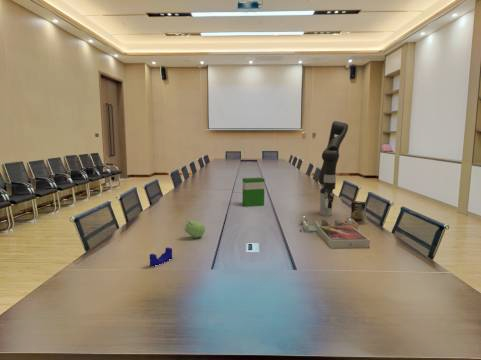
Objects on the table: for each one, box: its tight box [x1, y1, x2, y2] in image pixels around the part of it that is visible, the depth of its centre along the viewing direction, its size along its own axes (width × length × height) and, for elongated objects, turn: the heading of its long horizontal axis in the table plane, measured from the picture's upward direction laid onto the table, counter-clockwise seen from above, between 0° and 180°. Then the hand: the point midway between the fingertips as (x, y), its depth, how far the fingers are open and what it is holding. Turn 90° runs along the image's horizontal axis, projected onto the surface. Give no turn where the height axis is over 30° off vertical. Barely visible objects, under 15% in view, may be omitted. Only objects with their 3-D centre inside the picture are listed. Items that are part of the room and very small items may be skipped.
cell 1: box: [299, 214, 308, 226], centre depth 232 cm, size 5×5×7 cm
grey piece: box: [302, 219, 362, 233], centre depth 219 cm, size 11×36×6 cm, turn 89°
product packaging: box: [316, 225, 371, 249], centre depth 199 cm, size 22×28×5 cm
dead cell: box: [345, 217, 354, 224], centre depth 219 cm, size 5×5×7 cm
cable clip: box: [149, 247, 173, 268], centre depth 164 cm, size 12×4×6 cm, turn 147°
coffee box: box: [350, 200, 367, 225], centre depth 231 cm, size 9×6×16 cm
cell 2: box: [325, 198, 333, 210], centre depth 217 cm, size 5×5×7 cm
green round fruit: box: [183, 220, 206, 239], centre depth 202 cm, size 12×11×11 cm
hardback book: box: [242, 177, 265, 208], centre depth 291 cm, size 18×7×24 cm, turn 107°
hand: (328, 207), depth 217 cm, fingers closed on cell 2, 4 cm apart
